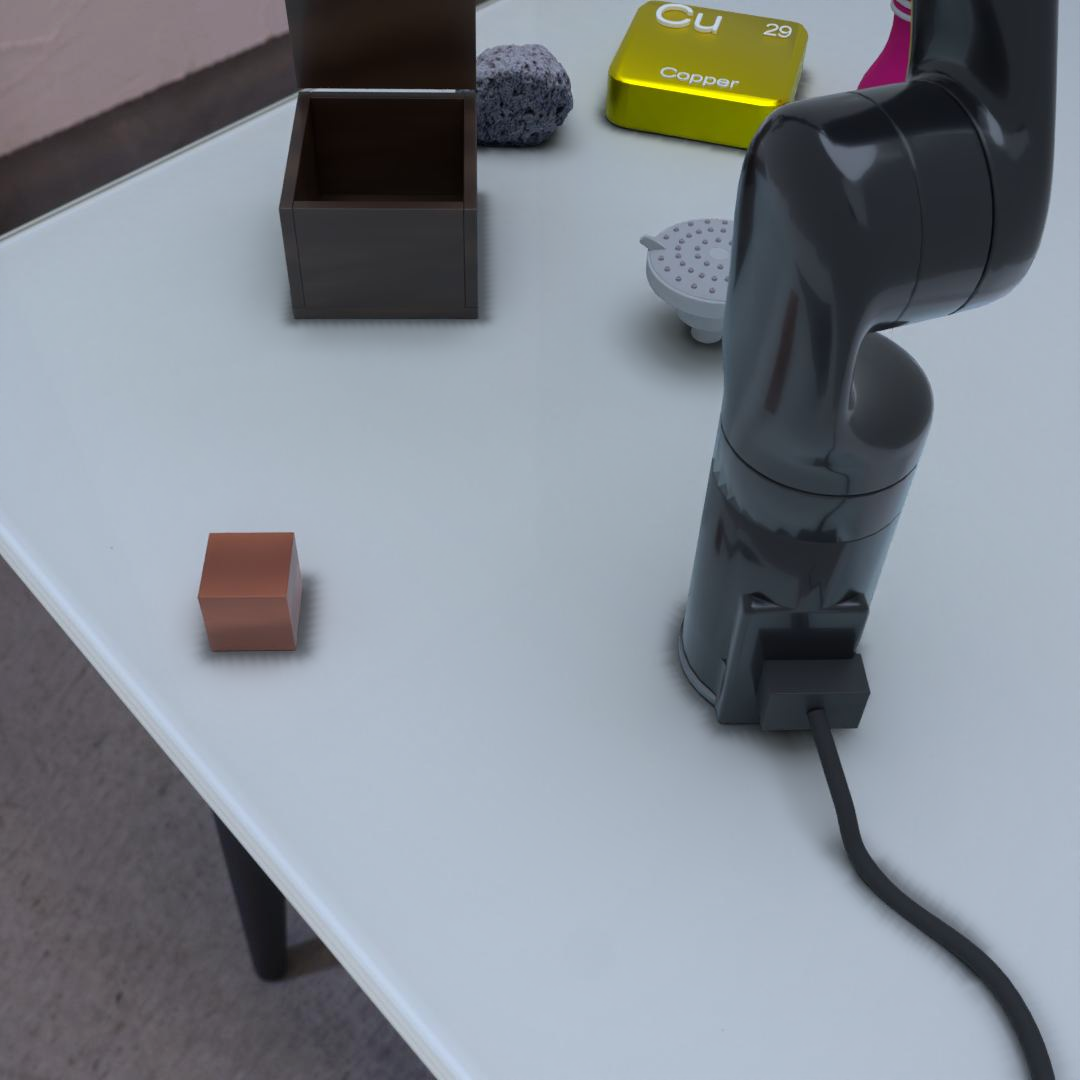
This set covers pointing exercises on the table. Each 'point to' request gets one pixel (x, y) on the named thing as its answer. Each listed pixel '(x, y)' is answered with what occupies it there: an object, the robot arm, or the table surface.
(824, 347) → the robot arm
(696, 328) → the showerhead
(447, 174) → the chest
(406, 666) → the table surface
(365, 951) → the table surface
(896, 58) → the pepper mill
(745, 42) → the element tile
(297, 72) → the lid
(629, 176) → the table surface
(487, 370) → the table surface
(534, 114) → the pumice stone
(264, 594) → the block
